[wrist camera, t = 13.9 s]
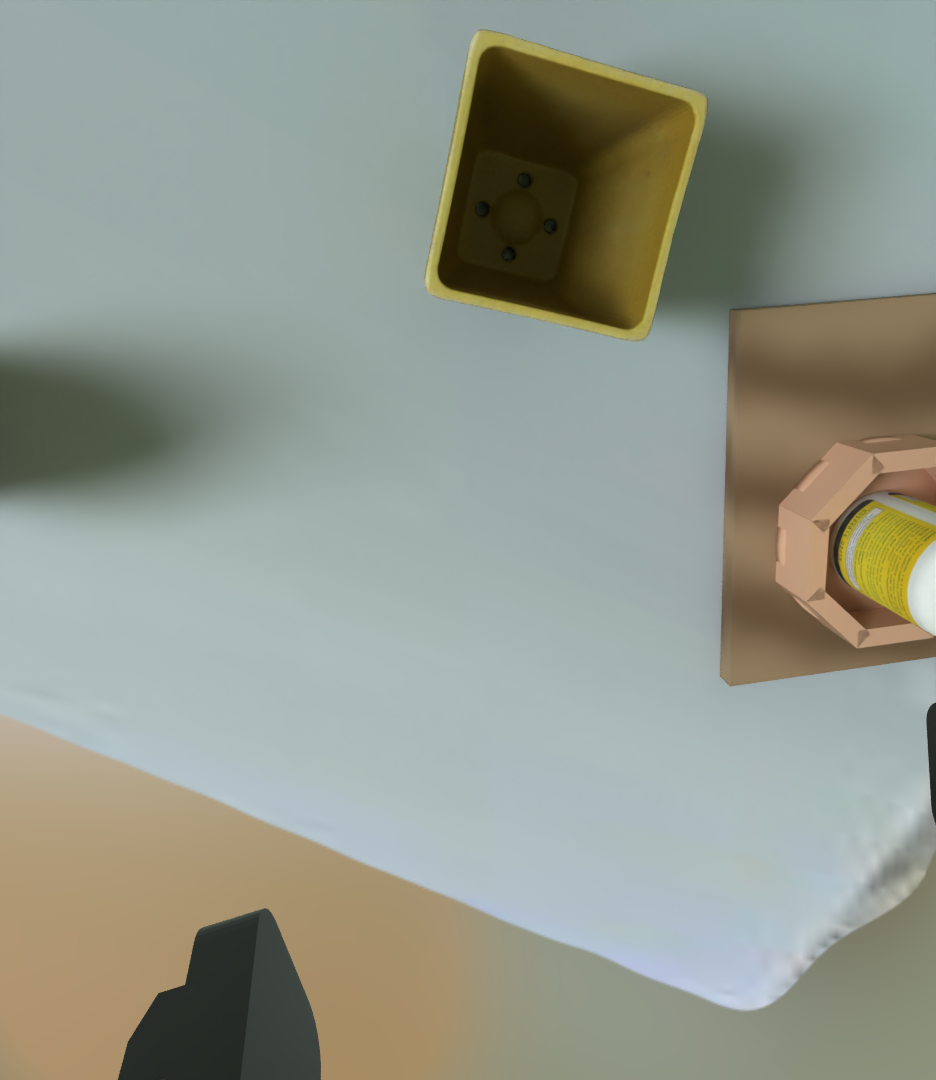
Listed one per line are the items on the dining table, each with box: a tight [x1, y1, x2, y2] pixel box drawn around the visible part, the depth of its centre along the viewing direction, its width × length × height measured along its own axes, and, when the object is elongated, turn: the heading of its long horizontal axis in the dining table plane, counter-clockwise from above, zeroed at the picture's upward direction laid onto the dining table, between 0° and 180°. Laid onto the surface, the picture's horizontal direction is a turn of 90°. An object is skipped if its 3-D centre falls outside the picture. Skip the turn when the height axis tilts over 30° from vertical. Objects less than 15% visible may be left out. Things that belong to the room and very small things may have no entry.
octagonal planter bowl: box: [775, 434, 936, 648], centre depth 43 cm, size 10×10×3 cm
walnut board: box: [720, 293, 936, 686], centre depth 44 cm, size 20×14×1 cm
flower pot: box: [425, 30, 708, 341], centre depth 33 cm, size 9×9×9 cm
